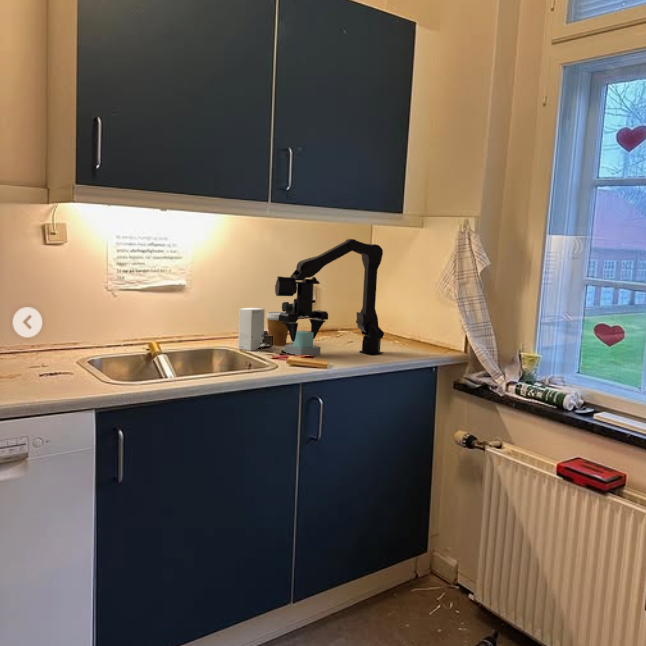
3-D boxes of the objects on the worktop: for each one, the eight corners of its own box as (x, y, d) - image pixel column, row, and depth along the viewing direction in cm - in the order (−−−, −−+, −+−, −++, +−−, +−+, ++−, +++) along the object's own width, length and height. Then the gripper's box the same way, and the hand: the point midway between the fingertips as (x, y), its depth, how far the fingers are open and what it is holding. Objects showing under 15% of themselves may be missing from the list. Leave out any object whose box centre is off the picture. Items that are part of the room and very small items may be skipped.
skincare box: (250, 351, 223) (252, 310, 221) (237, 349, 226) (238, 308, 224) (264, 348, 230) (265, 308, 228) (250, 346, 233) (252, 306, 231)
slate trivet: (303, 350, 229) (303, 342, 229) (320, 355, 223) (320, 346, 222) (284, 353, 223) (284, 344, 223) (300, 357, 216) (301, 349, 216)
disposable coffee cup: (292, 343, 243) (293, 312, 241) (286, 347, 234) (288, 315, 232) (268, 341, 245) (269, 310, 243) (262, 345, 235) (263, 313, 234)
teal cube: (303, 344, 226) (304, 330, 225) (312, 346, 222) (313, 332, 221) (292, 345, 222) (293, 331, 222) (302, 347, 219) (302, 333, 218)
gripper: (309, 293, 232) (307, 334, 234) (269, 294, 219) (268, 338, 222) (330, 296, 224) (328, 339, 226) (290, 298, 211) (288, 344, 213)
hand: (302, 340), depth 222 cm, fingers open, 9 cm apart
